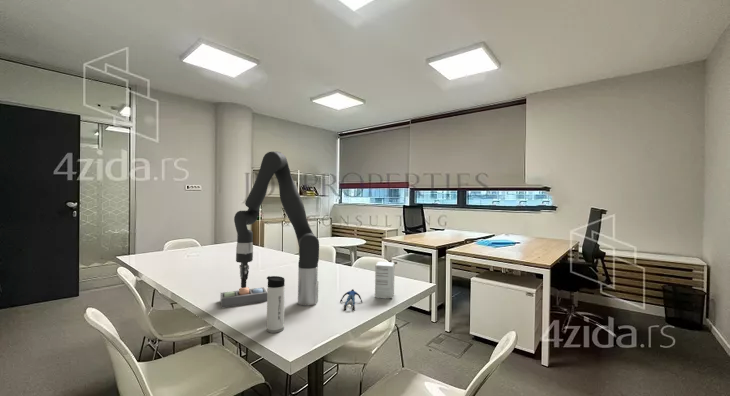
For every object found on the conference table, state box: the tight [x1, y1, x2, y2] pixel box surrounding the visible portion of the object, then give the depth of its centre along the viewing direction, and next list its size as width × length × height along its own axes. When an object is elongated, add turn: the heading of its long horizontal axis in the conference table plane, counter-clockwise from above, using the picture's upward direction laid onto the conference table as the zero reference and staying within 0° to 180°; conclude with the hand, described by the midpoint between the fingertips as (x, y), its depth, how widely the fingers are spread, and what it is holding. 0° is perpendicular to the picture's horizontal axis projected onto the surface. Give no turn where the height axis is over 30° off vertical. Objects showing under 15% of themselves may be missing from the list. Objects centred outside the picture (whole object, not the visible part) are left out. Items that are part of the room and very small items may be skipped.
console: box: [219, 287, 267, 309], centre depth 141 cm, size 20×10×4 cm, turn 119°
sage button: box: [224, 291, 235, 297], centre depth 138 cm, size 5×5×4 cm
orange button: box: [238, 286, 250, 295], centre depth 141 cm, size 5×5×4 cm
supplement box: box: [374, 261, 396, 299], centre depth 153 cm, size 10×9×17 cm
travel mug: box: [266, 275, 286, 334], centre depth 111 cm, size 6×7×20 cm
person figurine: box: [339, 288, 363, 311], centre depth 139 cm, size 11×4×18 cm
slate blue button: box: [252, 287, 263, 293], centre depth 144 cm, size 5×5×4 cm
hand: (243, 287), depth 141 cm, fingers closed
